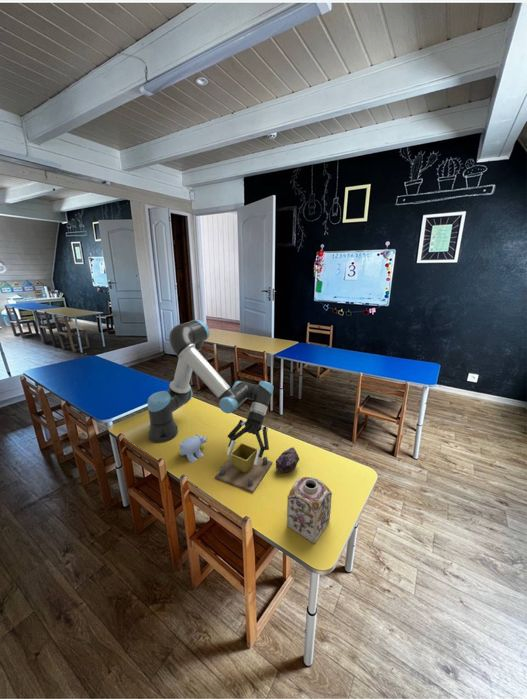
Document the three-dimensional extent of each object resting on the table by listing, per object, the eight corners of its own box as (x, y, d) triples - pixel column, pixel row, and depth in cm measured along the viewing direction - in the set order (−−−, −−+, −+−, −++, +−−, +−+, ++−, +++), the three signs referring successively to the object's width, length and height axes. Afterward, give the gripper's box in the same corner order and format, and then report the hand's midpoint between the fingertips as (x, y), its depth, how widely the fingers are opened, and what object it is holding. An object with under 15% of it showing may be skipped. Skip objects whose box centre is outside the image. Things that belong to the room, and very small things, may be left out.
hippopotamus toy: (212, 450, 141) (211, 433, 138) (187, 466, 130) (186, 448, 128) (199, 441, 148) (198, 425, 145) (174, 456, 137) (172, 439, 134)
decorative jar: (330, 521, 103) (334, 481, 97) (315, 545, 94) (318, 503, 88) (302, 504, 110) (303, 466, 104) (285, 525, 101) (286, 485, 95)
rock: (273, 471, 129) (291, 481, 122) (271, 456, 125) (289, 467, 119) (288, 455, 136) (306, 464, 130) (287, 441, 133) (304, 450, 126)
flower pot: (247, 478, 121) (246, 460, 118) (230, 470, 126) (229, 453, 123) (257, 465, 128) (257, 449, 126) (242, 459, 133) (241, 443, 130)
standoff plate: (214, 478, 123) (214, 470, 122) (237, 452, 139) (237, 445, 138) (253, 493, 115) (252, 484, 114) (272, 463, 131) (272, 456, 130)
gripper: (284, 422, 129) (270, 470, 121) (237, 410, 140) (221, 453, 131) (279, 417, 123) (264, 467, 115) (231, 405, 133) (214, 450, 125)
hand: (241, 460), depth 123 cm, fingers open, 13 cm apart
